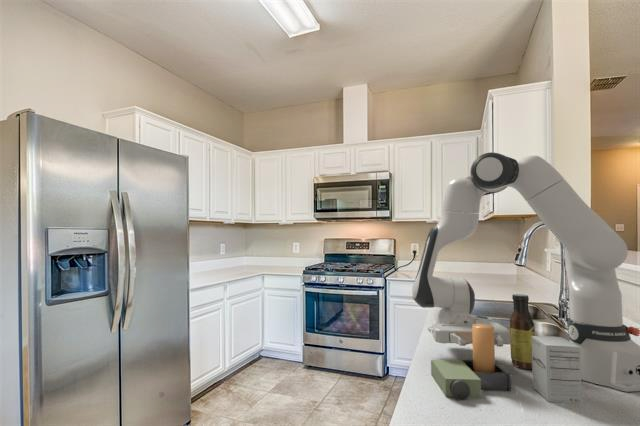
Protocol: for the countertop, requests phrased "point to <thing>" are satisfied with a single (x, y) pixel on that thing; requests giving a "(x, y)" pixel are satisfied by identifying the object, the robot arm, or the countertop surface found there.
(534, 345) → the supplement box
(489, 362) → the orange cylinder
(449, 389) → the green rectangular block
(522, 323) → the sauce bottle
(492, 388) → the frame
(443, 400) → the countertop surface
